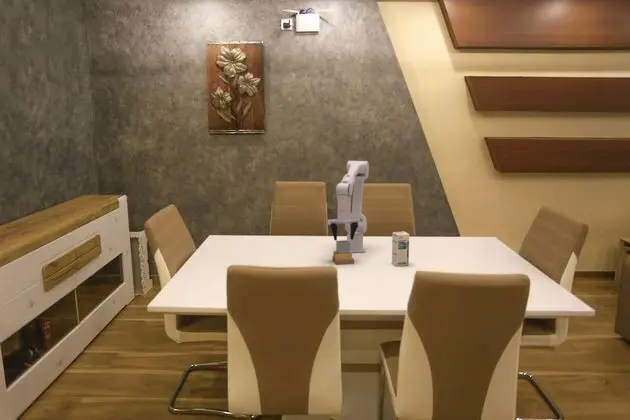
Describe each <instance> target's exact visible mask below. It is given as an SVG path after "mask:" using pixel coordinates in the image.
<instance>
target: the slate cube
mask: <svg viewBox="0 0 630 420" xmlns="http://www.w3.org/2000/svg"><path fill="white" fill-rule="evenodd" d="M335 246H336V247H335V251H336V252H337V253H338V254H350V242H349V241H347V239H346V240H345V239H344V240H335Z"/></svg>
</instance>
